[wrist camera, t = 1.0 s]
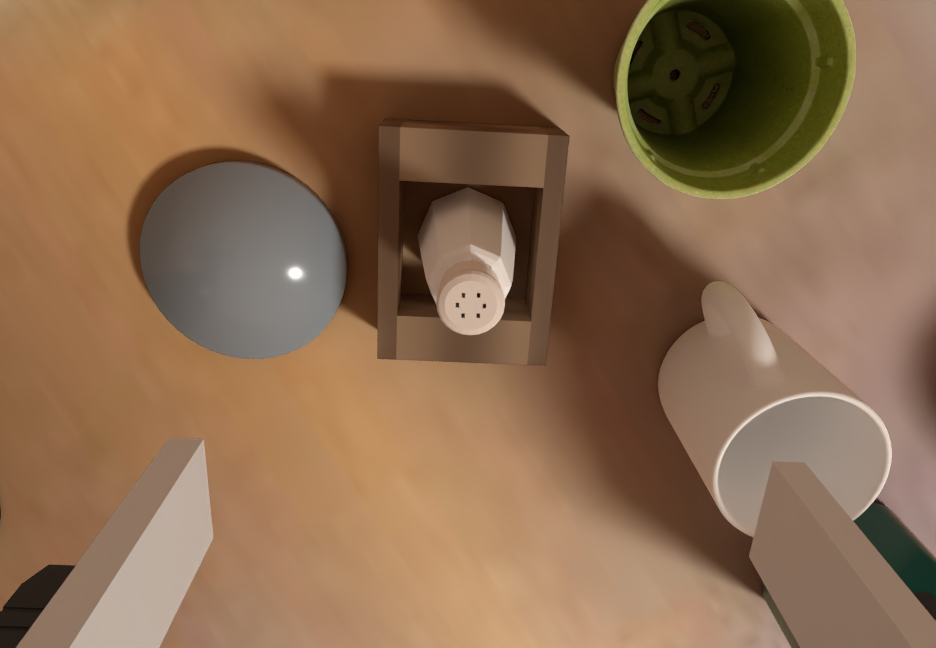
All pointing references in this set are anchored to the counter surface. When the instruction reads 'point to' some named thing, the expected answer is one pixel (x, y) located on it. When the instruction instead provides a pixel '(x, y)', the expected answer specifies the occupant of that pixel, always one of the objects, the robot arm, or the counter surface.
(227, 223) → the grey plate
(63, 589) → the robot arm
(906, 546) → the teal bottle
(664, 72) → the plant pot
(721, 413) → the mug
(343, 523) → the counter surface
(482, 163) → the pocket block
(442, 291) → the salt shaker
